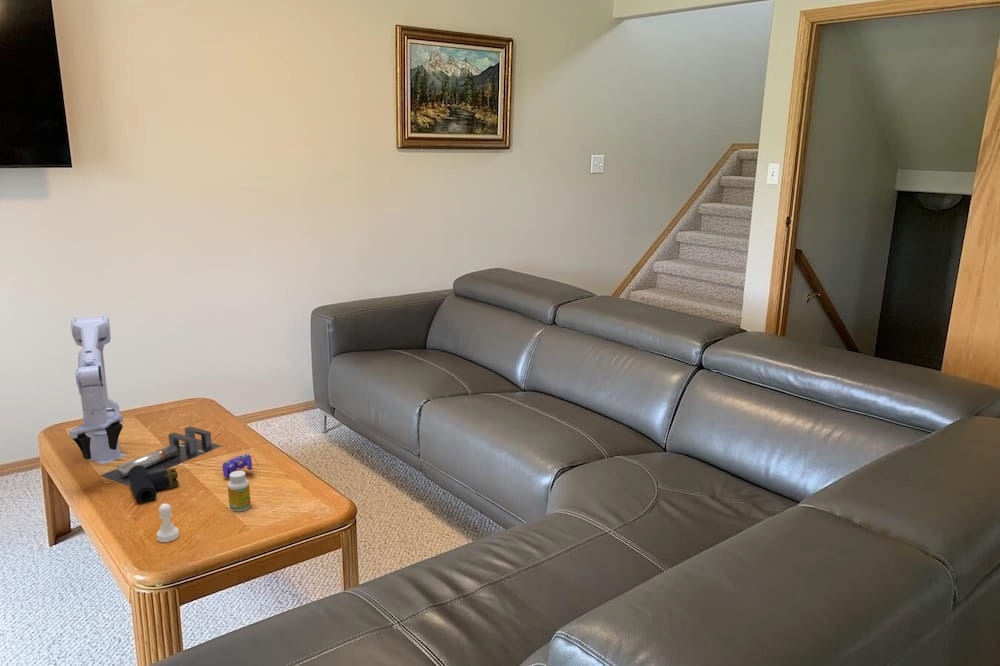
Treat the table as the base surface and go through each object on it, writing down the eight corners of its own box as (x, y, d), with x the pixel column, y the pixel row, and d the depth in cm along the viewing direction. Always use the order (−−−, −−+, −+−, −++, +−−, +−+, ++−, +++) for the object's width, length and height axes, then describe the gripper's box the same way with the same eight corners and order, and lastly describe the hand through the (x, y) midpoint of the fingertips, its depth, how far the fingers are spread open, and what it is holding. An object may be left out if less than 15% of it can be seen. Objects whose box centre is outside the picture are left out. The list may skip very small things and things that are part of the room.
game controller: (215, 474, 211) (218, 453, 219) (227, 495, 215) (229, 474, 224) (250, 461, 212) (251, 442, 221) (261, 483, 216) (262, 462, 225)
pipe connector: (170, 458, 216) (181, 479, 204) (172, 475, 218) (182, 496, 206) (127, 467, 210) (135, 489, 198) (129, 484, 212) (137, 507, 199)
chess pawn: (166, 531, 187) (163, 498, 185) (183, 534, 186) (180, 501, 183) (152, 541, 182) (148, 507, 180) (169, 544, 181) (165, 510, 179)
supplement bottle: (238, 513, 196) (235, 479, 193) (225, 508, 199) (222, 475, 196) (255, 505, 200) (252, 472, 198) (241, 500, 203) (239, 467, 201)
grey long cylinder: (125, 479, 215) (124, 467, 214) (117, 476, 216) (115, 464, 215) (178, 456, 230) (177, 445, 229) (170, 454, 232) (169, 443, 231)
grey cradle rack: (99, 477, 217) (97, 458, 215) (194, 439, 244) (192, 422, 243) (128, 487, 210) (125, 468, 209) (222, 447, 238) (220, 430, 237)
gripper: (77, 418, 197) (84, 466, 201) (127, 402, 210) (133, 447, 213) (61, 413, 200) (68, 460, 204) (111, 398, 213) (117, 442, 216)
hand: (100, 453), depth 209 cm, fingers open, 7 cm apart
